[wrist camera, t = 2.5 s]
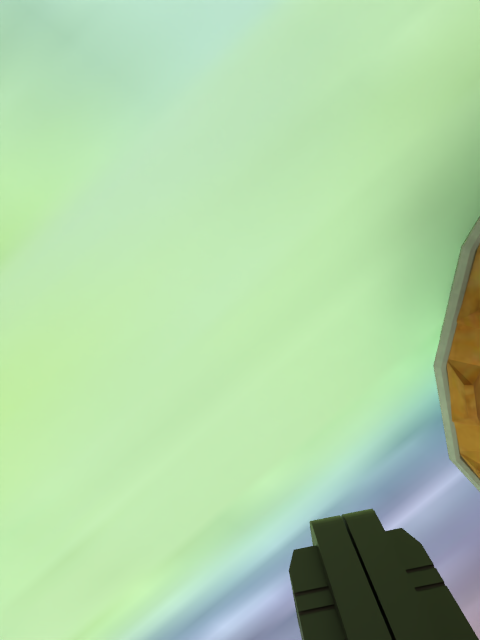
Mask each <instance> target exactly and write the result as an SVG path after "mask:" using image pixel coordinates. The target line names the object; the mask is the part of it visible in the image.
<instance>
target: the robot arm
mask: <svg viewBox="0 0 480 640" xmlns="http://www.w3.org/2000/svg"><path fill="white" fill-rule="evenodd" d="M310 529H311V535H312V542H313V546H311V547H306V548H301V549H296V550H294V551H293V555H292V560H291V564H290V568H289V574H290V579H291V585H292V590H293V596H294V601H295V607H296V613H297V618H298V623H299V628H300V632H301V637H302V640H479V639H478V637H477V636H476V634H475V632H474V631H473V629H472V627H471V626H470V624H469V622H468V621H467V619H466V618H465V616H464V614H463V613H462V611H461V609H460V608H459V606H458V604H457V603H456V601H455V599H454V598H453V596H452V594H451V593H450V591H449V589H448V588H447V586H445V584H444V581H443V579H442V578H441V576H440V574H439V573H438V571H437V569H436V568H434V565H433V563H432V561H431V559H430V558H429V556H428V554H427V553H426V551H425V549H424V548H423V546H422V544H421V543H420V542H418V541H417V540H416V539H415V538H413V537H412V536H411V535H410V534H408V533H407V532H406V531H405V530H404V529H402V528H399V529H394V530H389V531H385V530H384V528H383V526H382V524H381V522H380V521H379V519H378V517H377V515H376V513H375V511H374V510H373V509H368V510H363V511H358V512H353V513H348V514H343V515H342V516H340V515H339V516H334V517H329V518H324V519H319V520H314V521H310Z"/></svg>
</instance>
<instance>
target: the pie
mask: <svg viewBox="0 0 480 640" xmlns="http://www.w3.org/2000/svg"><path fill="white" fill-rule="evenodd" d="M434 371H435V377H436V383H437V389H438V395H439V401H440V407H441V412H442V418H443V424H444V430H445V436H446V442H447V448H448V454H449V459H450V460H451V461H452V462H453V463H454V464H455V465H456V466H457V467H458V469H459V470H460V471H461V472H462V473H463V474H464V475H465V476H466V477H467V478H468V479H469V481H470V482H471V483H472V484H473V485H474V486H475V487H476V488H477V489H478V490H479V491H480V217H479V218H478V220H477V222H476V223H475V225H474V227H473V228H472V230H471V232H470V233H469V235H468V237H467V238H466V240H465V242H464V243H463V245H462V247H461V251H460V255H459V259H458V263H457V268H456V272H455V276H454V280H453V284H452V289H451V293H450V297H449V301H448V305H447V310H446V314H445V318H444V322H443V326H442V331H441V335H440V341H439V345H438V349H437V353H436V357H435V361H434Z"/></svg>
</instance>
